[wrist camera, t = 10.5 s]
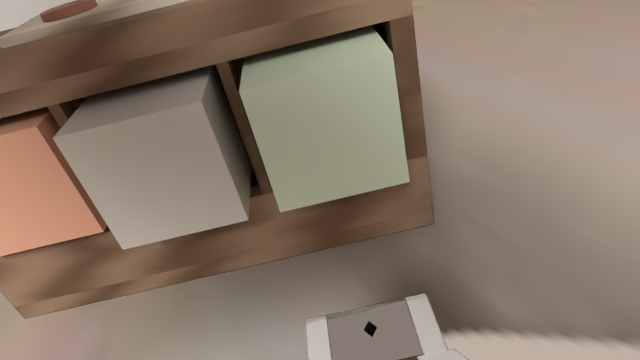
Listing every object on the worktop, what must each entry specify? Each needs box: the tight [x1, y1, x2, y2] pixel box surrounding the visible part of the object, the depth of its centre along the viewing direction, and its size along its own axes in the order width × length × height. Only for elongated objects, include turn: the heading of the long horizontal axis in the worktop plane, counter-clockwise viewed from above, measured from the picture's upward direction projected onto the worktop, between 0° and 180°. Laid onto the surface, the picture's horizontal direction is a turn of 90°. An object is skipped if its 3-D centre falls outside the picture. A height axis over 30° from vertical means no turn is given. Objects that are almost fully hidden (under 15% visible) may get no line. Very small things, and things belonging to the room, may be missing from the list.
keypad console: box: [0, 0, 434, 318], centre depth 24 cm, size 24×6×15 cm, turn 96°
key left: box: [0, 98, 107, 256], centre depth 23 cm, size 6×4×6 cm
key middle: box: [53, 65, 251, 250], centre depth 21 cm, size 6×4×6 cm
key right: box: [239, 25, 410, 212], centre depth 21 cm, size 6×4×6 cm
